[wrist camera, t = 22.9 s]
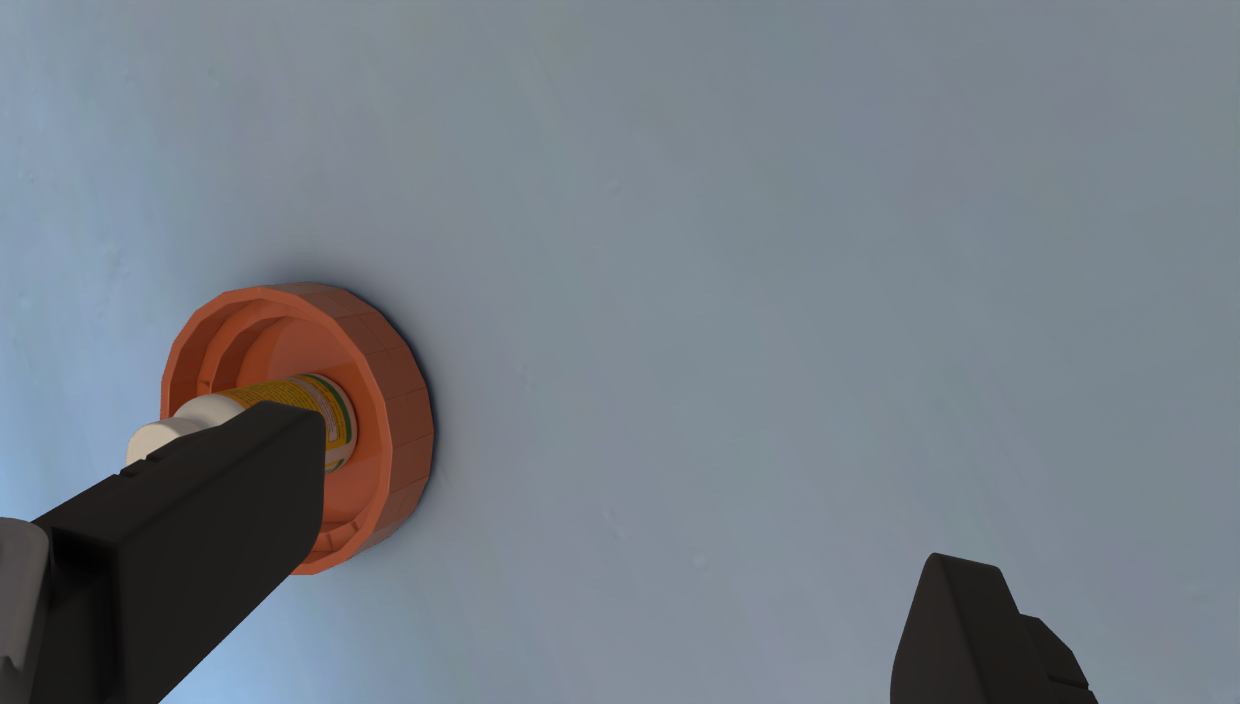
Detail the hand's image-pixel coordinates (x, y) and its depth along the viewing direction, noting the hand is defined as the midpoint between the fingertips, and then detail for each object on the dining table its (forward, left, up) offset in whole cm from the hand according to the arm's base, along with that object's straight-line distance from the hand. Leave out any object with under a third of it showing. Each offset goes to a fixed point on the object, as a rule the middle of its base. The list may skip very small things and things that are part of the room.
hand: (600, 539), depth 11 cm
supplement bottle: (-6, -26, -25) cm, 36 cm away
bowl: (-6, -26, -25) cm, 37 cm away
